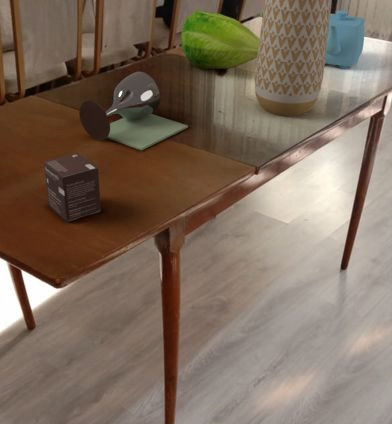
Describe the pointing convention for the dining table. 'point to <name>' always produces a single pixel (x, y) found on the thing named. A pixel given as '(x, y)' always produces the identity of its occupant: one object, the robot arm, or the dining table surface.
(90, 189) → the box
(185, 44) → the lettuce
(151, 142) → the mat
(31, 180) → the dining table surface
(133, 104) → the wine glass
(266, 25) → the vase
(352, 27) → the teapot
